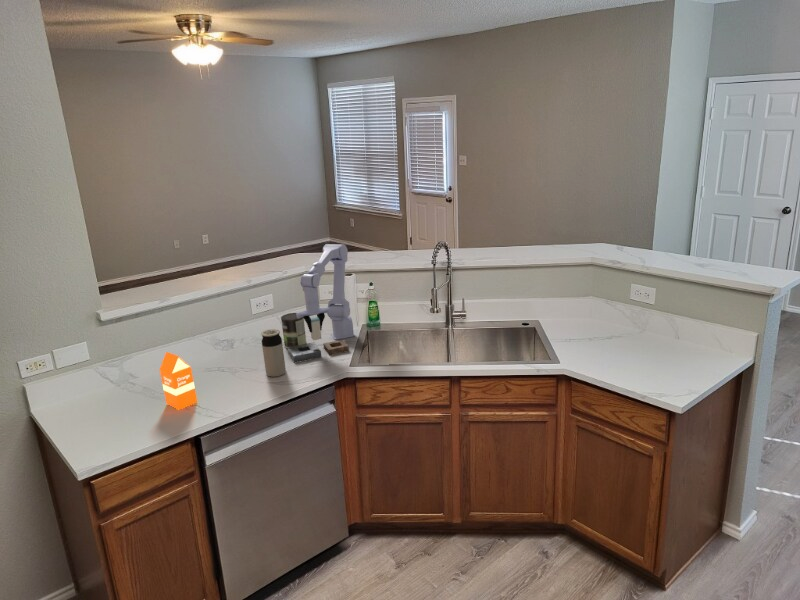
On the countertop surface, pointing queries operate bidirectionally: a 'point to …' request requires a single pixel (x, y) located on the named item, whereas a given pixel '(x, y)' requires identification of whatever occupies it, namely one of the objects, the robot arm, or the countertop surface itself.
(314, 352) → the port panel
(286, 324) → the coffee can
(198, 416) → the countertop surface
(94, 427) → the countertop surface
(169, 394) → the orange juice
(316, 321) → the plug
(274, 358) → the travel mug
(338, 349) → the wooden square frame
